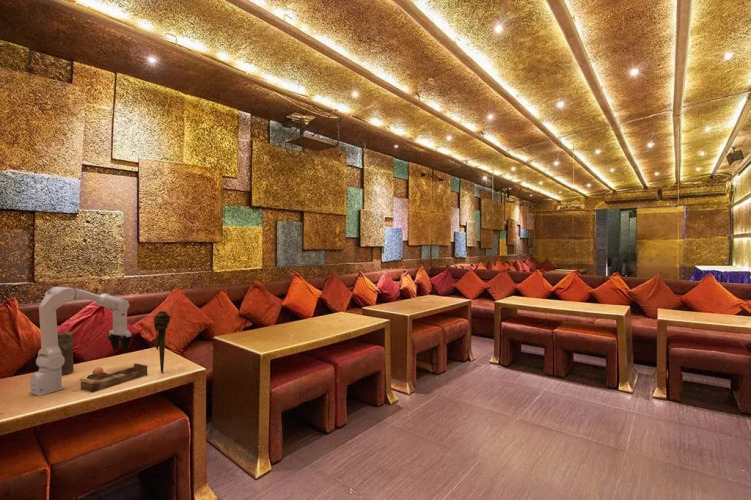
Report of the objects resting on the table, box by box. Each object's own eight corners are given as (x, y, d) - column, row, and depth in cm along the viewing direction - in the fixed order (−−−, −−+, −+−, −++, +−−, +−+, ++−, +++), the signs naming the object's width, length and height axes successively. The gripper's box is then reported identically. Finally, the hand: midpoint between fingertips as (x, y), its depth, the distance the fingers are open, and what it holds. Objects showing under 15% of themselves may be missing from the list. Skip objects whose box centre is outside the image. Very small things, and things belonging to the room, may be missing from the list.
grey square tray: (94, 383, 160) (94, 377, 160) (86, 381, 162) (86, 375, 163) (109, 379, 165) (109, 373, 165) (101, 377, 168) (101, 371, 168)
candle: (49, 375, 172) (49, 333, 172) (66, 370, 179) (66, 330, 179) (60, 376, 170) (59, 334, 170) (77, 371, 177) (77, 331, 177)
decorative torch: (163, 369, 178) (162, 309, 179) (173, 371, 176) (173, 310, 176) (150, 374, 172) (150, 311, 172) (160, 375, 170) (160, 312, 170)
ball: (95, 378, 161) (95, 369, 161) (90, 377, 163) (90, 368, 163) (105, 375, 165) (105, 366, 165) (100, 374, 167) (100, 365, 167)
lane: (91, 392, 150) (91, 381, 150) (79, 389, 154) (79, 378, 154) (147, 374, 171) (147, 365, 171) (135, 372, 175) (135, 363, 175)
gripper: (137, 322, 179) (137, 349, 179) (119, 320, 185) (119, 346, 185) (122, 325, 173) (122, 353, 172) (104, 322, 179) (104, 350, 179)
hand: (120, 350), depth 178 cm, fingers open, 7 cm apart
